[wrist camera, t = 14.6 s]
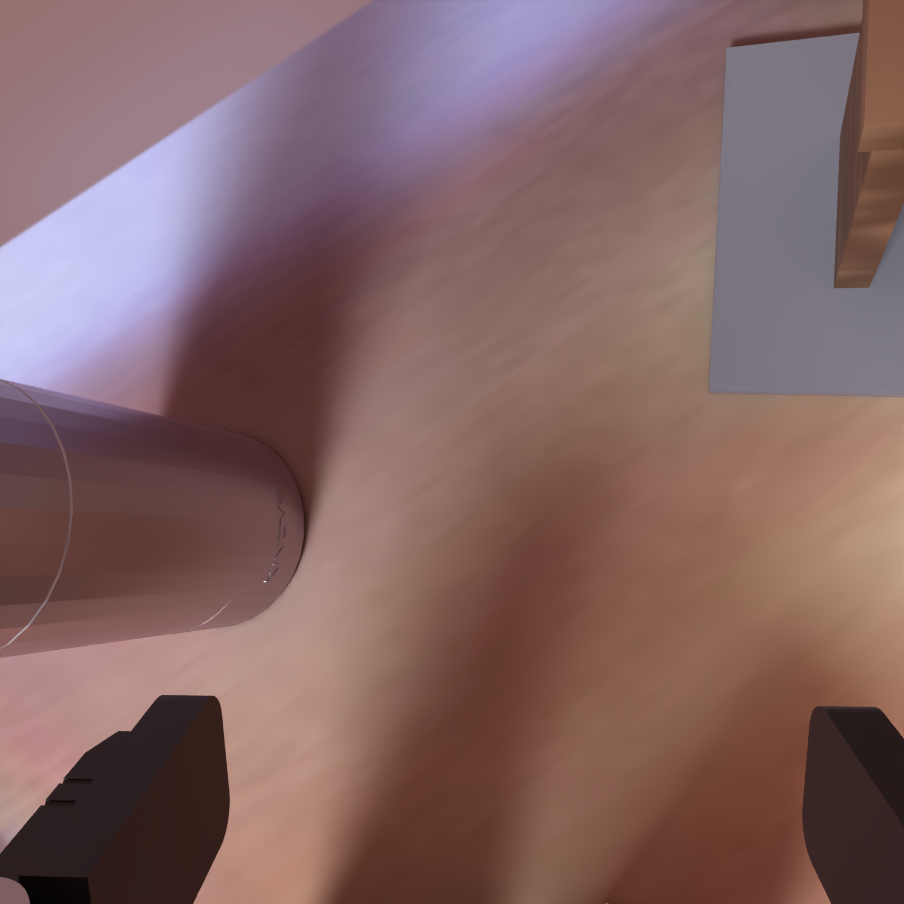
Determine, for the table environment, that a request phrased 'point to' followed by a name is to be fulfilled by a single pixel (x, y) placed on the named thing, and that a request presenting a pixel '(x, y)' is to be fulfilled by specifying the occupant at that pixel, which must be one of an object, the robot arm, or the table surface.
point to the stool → (871, 146)
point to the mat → (795, 236)
